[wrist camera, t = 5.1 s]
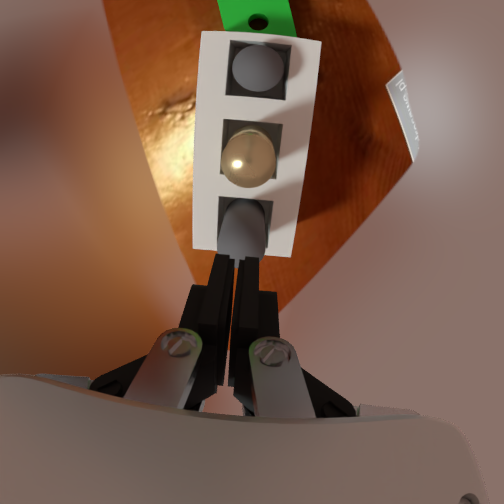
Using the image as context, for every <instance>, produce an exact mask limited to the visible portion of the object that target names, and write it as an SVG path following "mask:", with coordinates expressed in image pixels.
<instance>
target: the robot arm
mask: <svg viewBox="0 0 504 504" xmlns="http://www.w3.org/2000/svg"><path fill="white" fill-rule="evenodd" d="M234 268H235V259H230V255H226V254H216V255H215V258H214V262H213V266H212V270H211V273H210V277H209V281H208V285H207V286H204V285H194V284H193V285H192V287H191V290H190V293H189V296H188V299H187V302H186V305H185V308H184V311H183V314H182V317H181V321H180V324H179V327H178V328H173V329H170V330H166V331H165V332H164V333H162V334H161V335H160V336H159V337H158V338H157V340H156V342H155V343H154V345H153V347H152V348H151V350H150V352H149V353H148V354H147V355H145V356H143V357H141V358H139V359H137V360H135V361H132V362H130V363H128V364H126V365H123V366H121V367H119V368H117V369H115V370H112V371H110V372H108V373H106V374H104V375H101V376H100V377H98V378H96V379H95V380H90V379H89V377H77V376H64V375H63V376H62V375H52V374H37V375H35V376H34V375H26V374H5V375H0V504H490V503H489V498H488V494H487V490H486V486H485V482H484V479H483V476H482V473H481V470H480V467H479V464H478V461H477V459H476V456H475V454H474V451H473V449H472V447H471V445H470V443H469V441H468V439H467V438H466V436H465V435H464V433H463V432H462V431H461V430H460V428H459V427H457V426H456V425H454V424H453V423H451V422H448V421H446V420H443V419H440V418H435V417H430V416H424V415H420V414H418V413H417V412H415V411H412V410H407V409H398V408H388V407H379V406H372V405H364V404H360V405H359V407H357V406H353V405H352V404H351V403H350V402H349V401H348V400H346V399H345V398H343V397H342V396H341V395H339V394H338V393H336V392H335V391H333V390H332V389H331V388H329V387H328V386H326V385H325V384H323V383H322V382H321V381H319V380H318V379H316V378H315V377H313V376H312V375H311V374H309V373H308V372H307V371H305V370H304V369H302V368H301V366H300V363H299V360H298V357H297V354H296V351H295V349H294V347H293V346H292V345H291V344H290V343H289V342H288V341H286V340H284V339H281V338H280V334H279V319H278V302H277V292H271V291H259V257H249V256H245V260H241V259H239V267H238V275H237V283H236V291H235V299H234V307H233V316H232V325H231V315H232V300H233V284H234ZM230 325H231V339H230V358H229V375H228V386H231V387H234V394H233V395H234V397H236V398H237V399H238V400H239V401H240V402H241V403H242V412H243V416H236V415H225V414H214V413H207V412H202V410H203V408H204V404H205V399H206V398H208V397H210V396H211V395H213V394H215V393H216V392H217V385H221V386H223V383H224V375H225V366H226V358H227V357H226V356H227V350H228V341H229V333H230Z"/></svg>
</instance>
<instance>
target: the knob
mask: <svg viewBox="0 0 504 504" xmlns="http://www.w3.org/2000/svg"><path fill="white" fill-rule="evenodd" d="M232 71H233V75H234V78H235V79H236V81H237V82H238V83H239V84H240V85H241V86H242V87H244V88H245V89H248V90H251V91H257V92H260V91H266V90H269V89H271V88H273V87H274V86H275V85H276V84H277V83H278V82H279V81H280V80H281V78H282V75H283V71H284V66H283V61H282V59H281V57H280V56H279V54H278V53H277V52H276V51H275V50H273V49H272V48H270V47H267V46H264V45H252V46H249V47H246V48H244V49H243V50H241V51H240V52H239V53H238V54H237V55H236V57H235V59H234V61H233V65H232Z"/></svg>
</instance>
